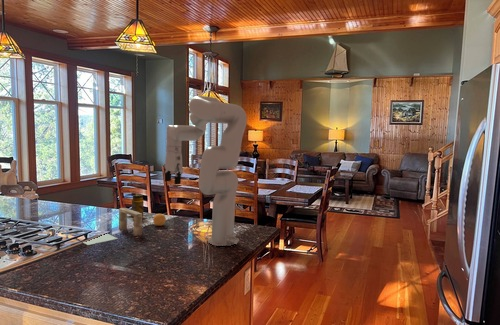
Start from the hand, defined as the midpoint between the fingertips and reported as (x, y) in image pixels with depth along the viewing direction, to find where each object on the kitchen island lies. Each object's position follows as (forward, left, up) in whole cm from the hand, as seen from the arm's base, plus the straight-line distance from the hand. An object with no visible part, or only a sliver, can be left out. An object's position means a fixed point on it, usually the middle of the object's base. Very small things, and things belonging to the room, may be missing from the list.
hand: (172, 182), depth 183 cm
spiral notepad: (-2, +41, -21) cm, 46 cm away
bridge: (-2, +25, -21) cm, 32 cm away
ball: (-2, +9, -18) cm, 20 cm away
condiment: (+20, +9, -21) cm, 30 cm away
